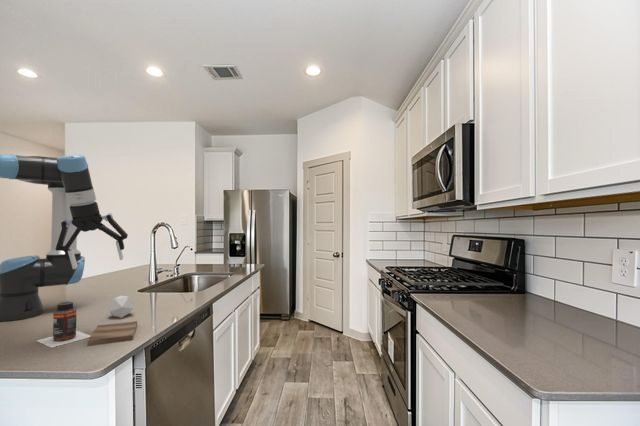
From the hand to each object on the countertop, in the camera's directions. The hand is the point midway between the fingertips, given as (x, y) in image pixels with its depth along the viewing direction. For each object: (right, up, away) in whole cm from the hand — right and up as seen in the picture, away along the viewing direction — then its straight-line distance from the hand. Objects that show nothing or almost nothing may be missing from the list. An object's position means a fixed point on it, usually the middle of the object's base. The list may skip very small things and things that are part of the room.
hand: (99, 263), depth 111 cm
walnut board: (+7, -24, -3) cm, 25 cm away
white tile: (-6, -23, -7) cm, 25 cm away
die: (-3, -24, +18) cm, 30 cm away
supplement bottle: (-6, -23, -7) cm, 25 cm away
